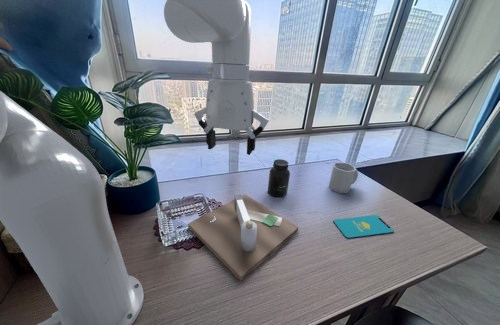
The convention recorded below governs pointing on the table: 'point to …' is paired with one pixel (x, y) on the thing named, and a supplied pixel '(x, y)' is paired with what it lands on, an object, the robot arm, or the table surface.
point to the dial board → (229, 235)
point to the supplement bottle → (279, 179)
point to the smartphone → (362, 226)
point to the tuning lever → (245, 225)
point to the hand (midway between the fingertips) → (230, 150)
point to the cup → (342, 177)
